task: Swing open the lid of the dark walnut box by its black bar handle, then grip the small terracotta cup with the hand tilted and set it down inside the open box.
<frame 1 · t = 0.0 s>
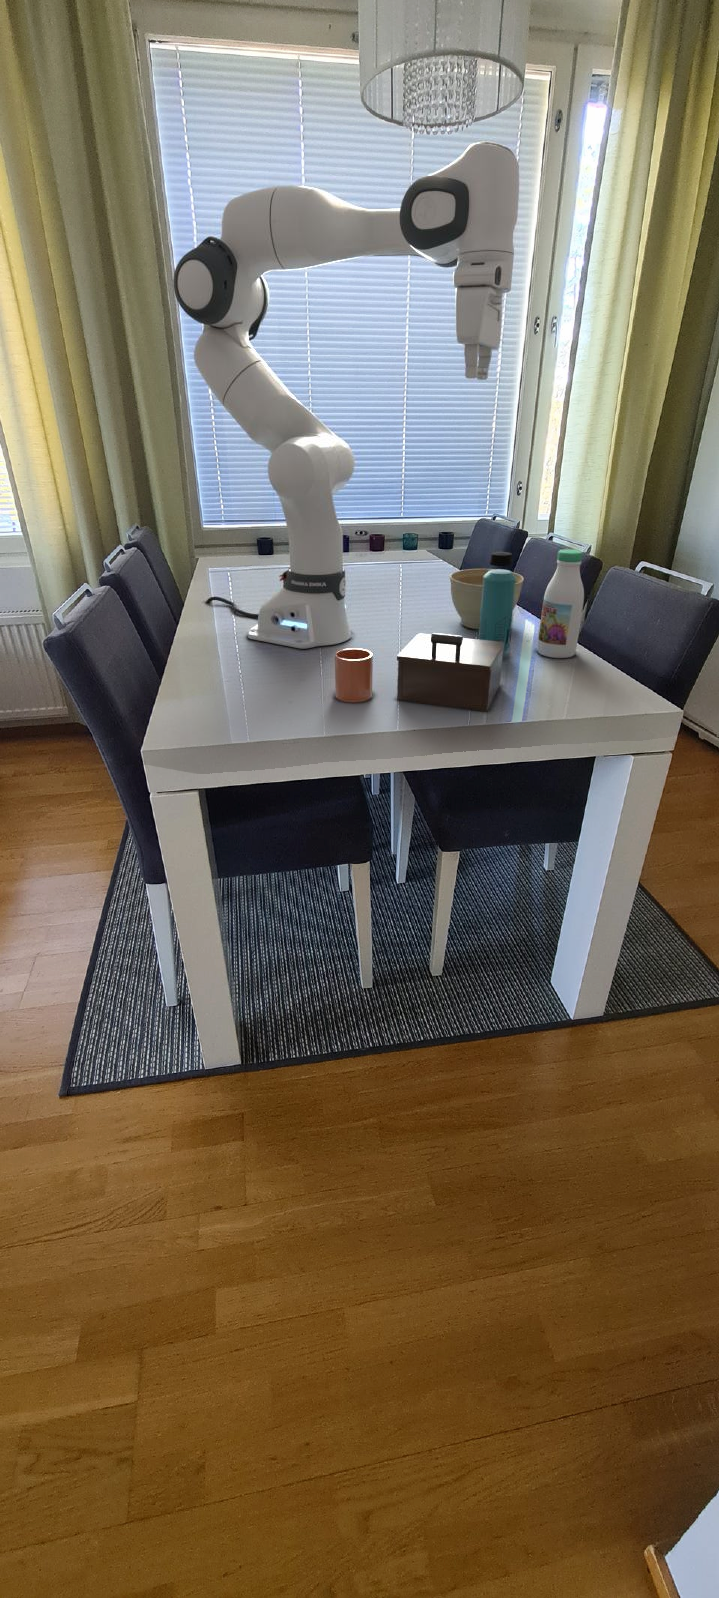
hand: (476, 378, 119), 48 cm above the table, tool pointing down, fingers open, 8 cm apart
milk bottle: (555, 653, 142), on the table
lid: (452, 640, 118), point 10 cm above the table, hinge at 0.0°
cup: (353, 695, 121), on the table
beverage bottle: (492, 656, 141), on the table
planter bowl: (482, 625, 159), on the table
box: (449, 692, 123), on the table
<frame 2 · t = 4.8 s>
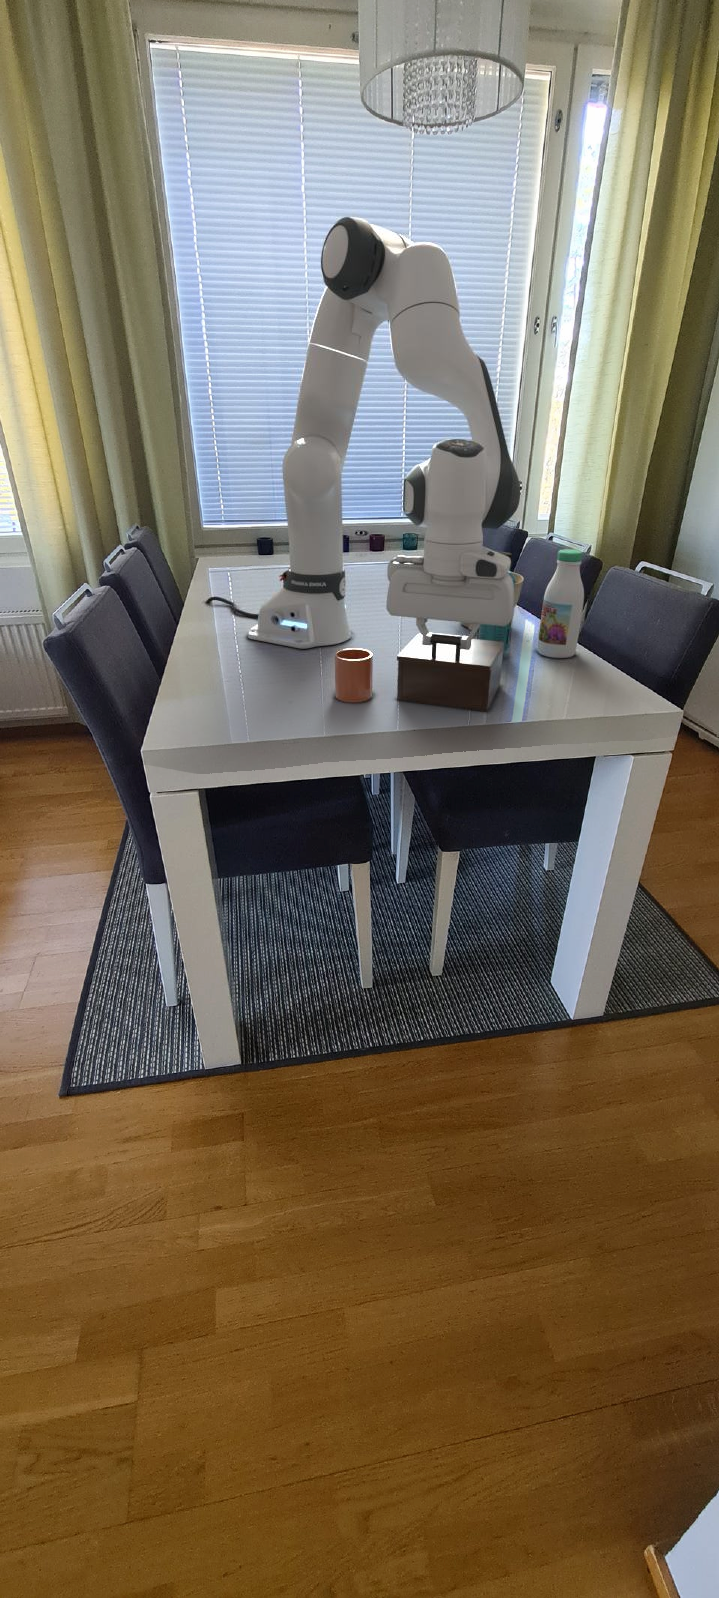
hand: (446, 646, 114), 10 cm above the table, tool pointing down, fingers closed on lid, 5 cm apart
lid: (452, 640, 118), point 10 cm above the table, hinge at 0.0°, touching gripper
everything else where it was.
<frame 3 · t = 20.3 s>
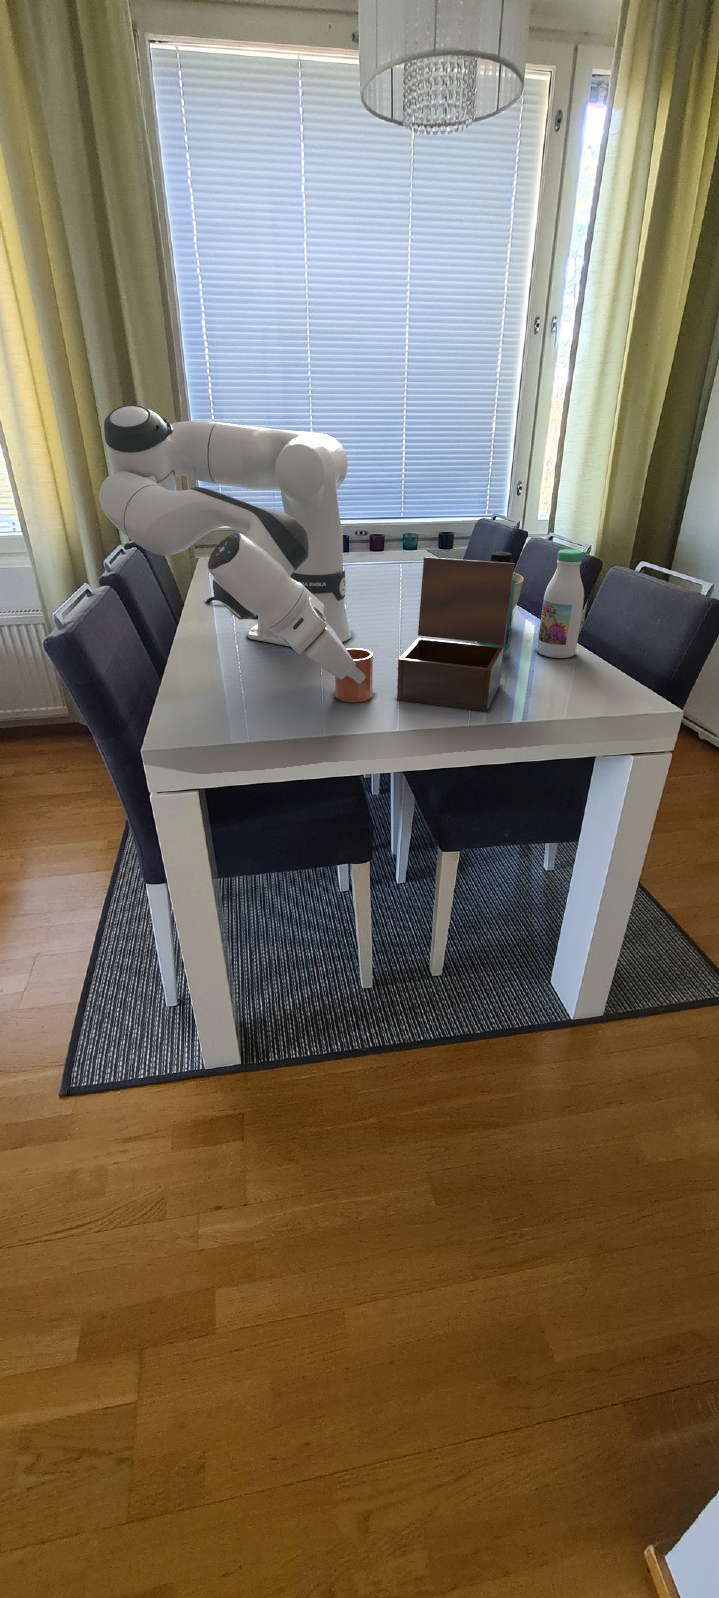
hand: (357, 671, 119), 4 cm above the table, tool tilted 45°, fingers closed on cup, 6 cm apart
lid: (466, 599, 123), point 14 cm above the table, hinge at 98.0°
cup: (353, 695, 121), on the table, touching gripper
everything else where it was.
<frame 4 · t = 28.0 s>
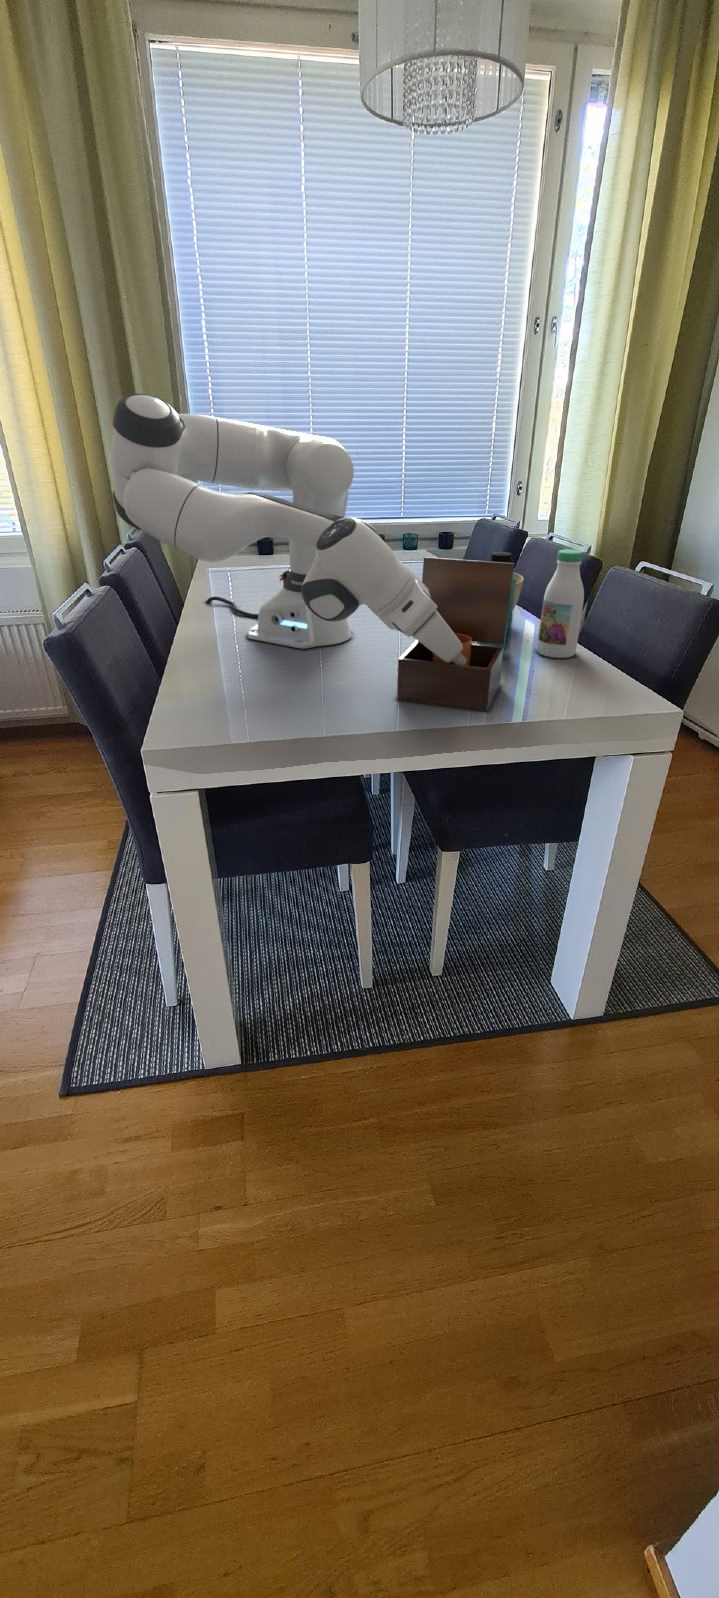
hand: (455, 656, 119), 7 cm above the table, tool tilted 45°, fingers closed on cup, 6 cm apart
cup: (449, 680, 121), point 2 cm above the table, touching gripper
everything else where it was.
when the fingers open (7 cm above the table, at t = 36.9 s): cup drops 2 cm, resting on box.
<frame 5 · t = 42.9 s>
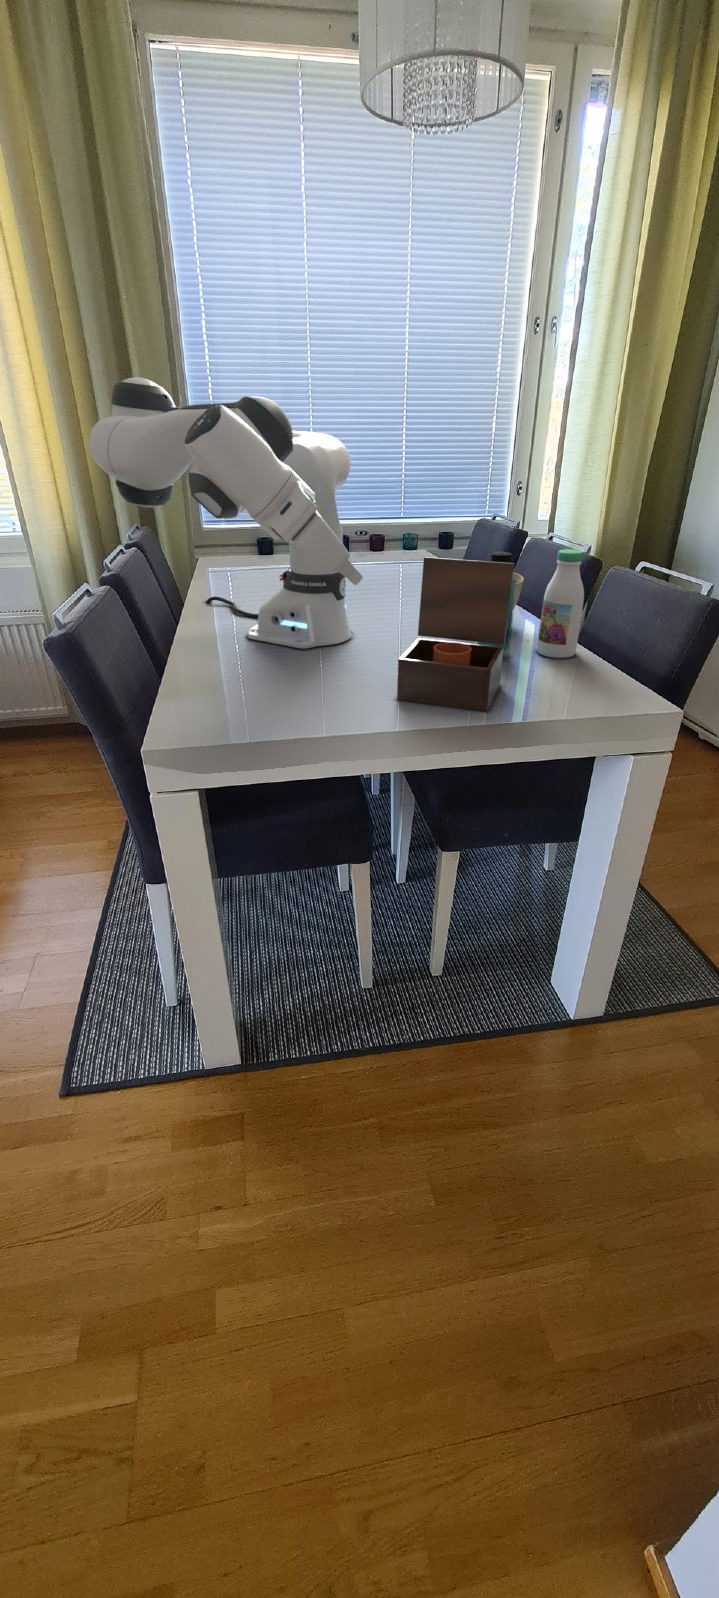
hand: (352, 574, 108), 21 cm above the table, tool tilted 45°, fingers open, 8 cm apart
cup: (449, 689, 122), point 1 cm above the table, touching box
everything else where it was.
at the end: lid at +98° (first picture: +0°); cup inside the target area in the box (0.4 cm from its centre), point 0.8 cm above the box's base; cup tilted 0° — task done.
